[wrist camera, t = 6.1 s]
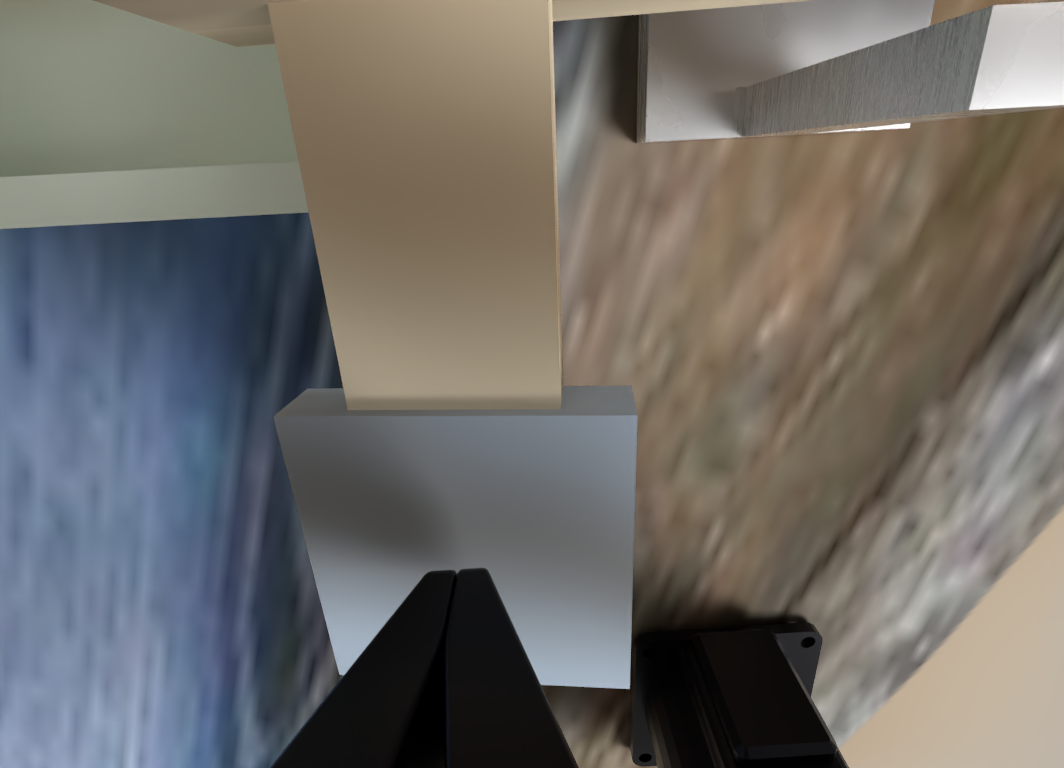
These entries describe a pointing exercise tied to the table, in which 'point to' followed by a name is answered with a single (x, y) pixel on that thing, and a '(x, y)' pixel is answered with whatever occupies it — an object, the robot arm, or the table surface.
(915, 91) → the pivot stand
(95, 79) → the bin
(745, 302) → the table surface
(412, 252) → the lever
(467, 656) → the robot arm
